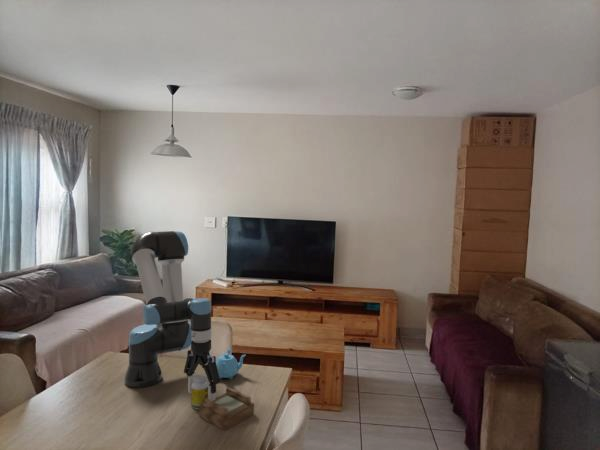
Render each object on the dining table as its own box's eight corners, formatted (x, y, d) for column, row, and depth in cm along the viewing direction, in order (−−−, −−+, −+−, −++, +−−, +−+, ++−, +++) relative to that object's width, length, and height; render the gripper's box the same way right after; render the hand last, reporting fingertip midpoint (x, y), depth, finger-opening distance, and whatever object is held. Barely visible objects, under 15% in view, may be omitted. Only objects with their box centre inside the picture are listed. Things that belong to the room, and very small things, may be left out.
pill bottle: (204, 411, 151) (204, 380, 151) (188, 408, 153) (188, 378, 152) (211, 402, 158) (211, 373, 157) (195, 400, 159) (196, 371, 158)
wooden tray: (199, 416, 148) (199, 399, 147) (228, 401, 159) (228, 385, 158) (225, 430, 139) (225, 412, 139) (253, 414, 150) (254, 397, 150)
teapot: (229, 367, 191) (229, 346, 190) (247, 376, 182) (247, 354, 181) (206, 375, 181) (206, 353, 181) (223, 385, 172) (223, 362, 172)
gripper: (174, 336, 158) (174, 391, 158) (214, 349, 143) (214, 409, 144) (189, 331, 164) (190, 384, 164) (229, 343, 149) (230, 401, 150)
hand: (201, 396), depth 154 cm, fingers open, 11 cm apart
